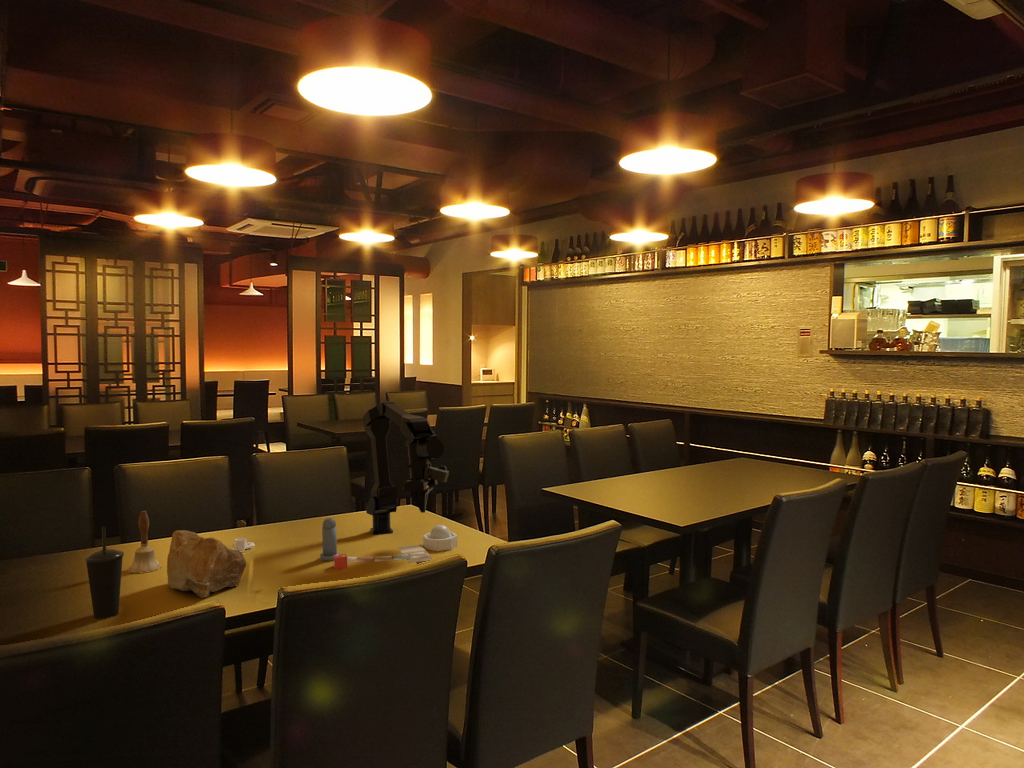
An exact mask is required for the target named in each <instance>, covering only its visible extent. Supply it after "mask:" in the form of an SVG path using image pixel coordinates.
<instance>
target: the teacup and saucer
mask: <svg viewBox="0 0 1024 768" xmlns="http://www.w3.org/2000/svg"><path fill="white" fill-rule="evenodd" d="M232 547H233V548H232V549H235V550H239V551H243V550H245V549H246V548H252V547H253V548H255V543H254V542H253V541H247V538H246V537H238V538H235V539H234V542H233V543H232ZM245 551H246V550H245Z"/></svg>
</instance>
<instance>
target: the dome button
mask: <svg viewBox="0 0 1024 768" xmlns="http://www.w3.org/2000/svg"><path fill="white" fill-rule="evenodd" d="M430 532H431V534H430V535H429V536H428V538H431V539H448V538H451V537H452V535H451V534H450V532H451V530H450V529H449V527H447V526H446V525H443V524H438V525H436V526H434V527H433V528H432V529H431V531H430Z"/></svg>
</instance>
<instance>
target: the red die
mask: <svg viewBox="0 0 1024 768" xmlns="http://www.w3.org/2000/svg"><path fill="white" fill-rule="evenodd" d="M347 557H348V555H347V553H339V554H336V555H334V561H333V567H334V570H343V569H348V562H347Z"/></svg>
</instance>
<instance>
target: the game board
mask: <svg viewBox="0 0 1024 768" xmlns="http://www.w3.org/2000/svg"><path fill="white" fill-rule="evenodd" d="M397 548H398V550H400V552H401V553H402V554H396V555H395V554H394V555H381V556H347V563H353V562H354V563H372V562H373V560H374V562H375V563H377V562H378V563H379V562H391V561H393V560H394V561H401V560H406V561H407V562H408V563H416V565H417V564H419V563H422V562H426V561H430V560H433V561H434V559H433V558H432V556H431V555H430V554H429V553H428V551H427V549H426V548H425V547H424V546H423V545H422V544H415V545H414V544H413V545H404V546H403V545H402V546H398V547H397ZM318 561H322V560H320V558H319V559H318ZM322 562H323V561H322Z"/></svg>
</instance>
